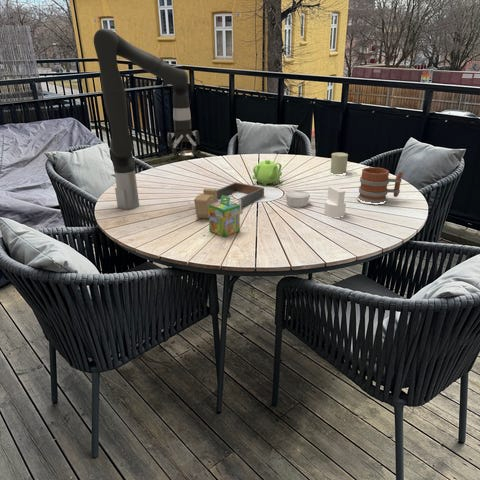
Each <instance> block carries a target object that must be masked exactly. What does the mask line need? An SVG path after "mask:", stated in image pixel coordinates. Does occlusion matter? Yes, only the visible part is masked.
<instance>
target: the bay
mask: <svg viewBox="0 0 480 480" xmlns="http://www.w3.org/2000/svg"><path fill="white" fill-rule="evenodd" d="M216 191H217V199H218V201H219V200H221V196H222V195H224V196H227V197H229V195H232V194H234V193H236V192H237V193H241V194H246V195H244V196H241V197H240V198H238V204H239V205H240V214H241V213H242V209H243V208H245V207H246V205H247V206H249V205H251V204H252V203H254V202H256V201H258V200H260V199H262V198H264V197H265V187H262V186H258V185H257V186H256V185H254V184H253V185H251V184H246V183H241V182H236V181H235V182H233V183H230V184H228V185H226V186H223V187H221V188H219V189H216ZM201 194H202V193H199V195H201ZM248 204H249V205H248ZM244 206H245V207H244ZM242 207H243V208H242Z"/></svg>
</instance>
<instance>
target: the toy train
mask: <svg viewBox="0 0 480 480" xmlns="http://www.w3.org/2000/svg"><path fill="white" fill-rule="evenodd" d="M216 190H217V189H215V188H203V193H200V194H201V195H200V194H197V196H196V197H194V199H193V203H194V206H195V208H194V209H195V215H196V218H197V219H206V220H207V219H208V220H209V205H210V204H213V203H216V202H219V200H218V199H217V191H216Z"/></svg>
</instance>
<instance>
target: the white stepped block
mask: <svg viewBox="0 0 480 480" xmlns="http://www.w3.org/2000/svg"><path fill="white" fill-rule="evenodd" d="M327 189H328V190H327V199H326V200H325V201H324V210H323V215H324V214H325V215H327V216H330V217H341V216H344V215H346V205H347V202H346V200H345V195H346V191H345V190H343V189H342V188H339V186H336V185H328V188H327ZM325 215H324V216H325ZM344 217H345V216H344Z"/></svg>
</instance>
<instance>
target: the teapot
mask: <svg viewBox="0 0 480 480" xmlns="http://www.w3.org/2000/svg"><path fill="white" fill-rule="evenodd" d="M278 166H279V167H278ZM252 168H253V169H252V170H253V175H252V179H253V180H256V181H257V183H259V184H260V183H261V185H262V186H264V187H266V186H268V184H272V185H277V184H278V183H277V182H279V181H280V179H281V177H282V175H283V174H282V164H281V163H280V162H275V161H271V160H270V159H264V160H262V161H260V162H258V164H257V165H256V164H255V165H254V166H253V167H252Z"/></svg>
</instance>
